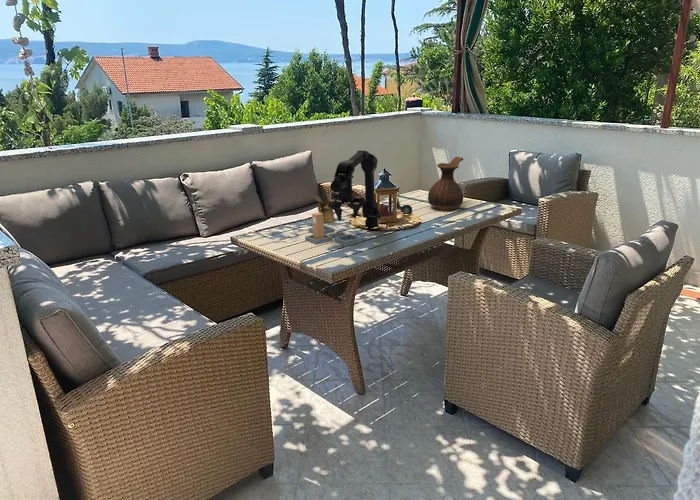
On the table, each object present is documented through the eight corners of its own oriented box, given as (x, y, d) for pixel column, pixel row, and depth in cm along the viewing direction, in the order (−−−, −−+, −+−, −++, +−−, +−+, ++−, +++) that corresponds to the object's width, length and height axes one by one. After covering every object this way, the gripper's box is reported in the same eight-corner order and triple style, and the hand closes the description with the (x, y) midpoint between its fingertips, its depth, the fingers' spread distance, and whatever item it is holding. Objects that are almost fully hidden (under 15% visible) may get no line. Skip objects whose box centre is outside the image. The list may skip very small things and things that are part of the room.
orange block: (320, 238, 285) (318, 212, 281) (324, 240, 282) (323, 213, 277) (313, 240, 282) (311, 213, 278) (317, 242, 279) (316, 215, 275)
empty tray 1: (324, 229, 303) (323, 224, 303) (334, 233, 296) (334, 228, 295) (308, 232, 298) (308, 228, 297) (319, 236, 290) (318, 232, 289)
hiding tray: (321, 237, 289) (321, 232, 288) (332, 241, 281) (332, 236, 281) (305, 241, 283) (305, 236, 283) (316, 245, 276) (316, 240, 275)
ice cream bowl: (352, 219, 321) (351, 194, 317) (343, 215, 331) (342, 190, 326) (368, 216, 326) (367, 191, 321) (359, 213, 336) (358, 188, 331)
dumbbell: (399, 218, 325) (394, 202, 323) (391, 214, 347) (386, 199, 345) (414, 213, 326) (408, 197, 324) (404, 209, 348) (399, 194, 346)
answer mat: (340, 233, 295) (340, 232, 295) (350, 236, 288) (350, 235, 288) (326, 236, 290) (326, 235, 290) (336, 240, 283) (336, 239, 283)
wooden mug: (310, 223, 317) (308, 192, 311) (327, 218, 326) (326, 188, 320) (320, 225, 311) (319, 194, 305) (338, 221, 319) (337, 190, 314)
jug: (466, 212, 330) (468, 161, 320) (430, 213, 330) (431, 162, 321) (460, 203, 350) (461, 155, 341) (426, 204, 351) (426, 156, 341)
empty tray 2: (350, 238, 285) (349, 233, 285) (362, 242, 278) (362, 237, 277) (334, 242, 280) (334, 237, 279) (346, 246, 272) (345, 242, 271)
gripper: (351, 183, 282) (352, 213, 286) (321, 188, 271) (322, 219, 276) (365, 186, 273) (365, 217, 278) (334, 192, 263) (335, 224, 267)
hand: (347, 219), depth 275 cm, fingers open, 9 cm apart
